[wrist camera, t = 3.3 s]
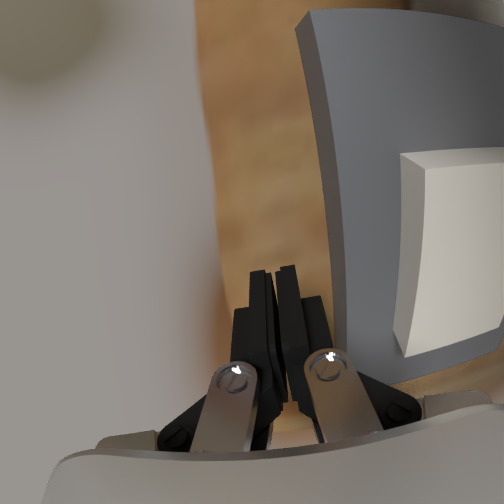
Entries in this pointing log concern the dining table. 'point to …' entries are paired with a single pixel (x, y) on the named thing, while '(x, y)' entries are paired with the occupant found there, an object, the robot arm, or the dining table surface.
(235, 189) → the dining table surface
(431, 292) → the tile
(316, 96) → the panel
